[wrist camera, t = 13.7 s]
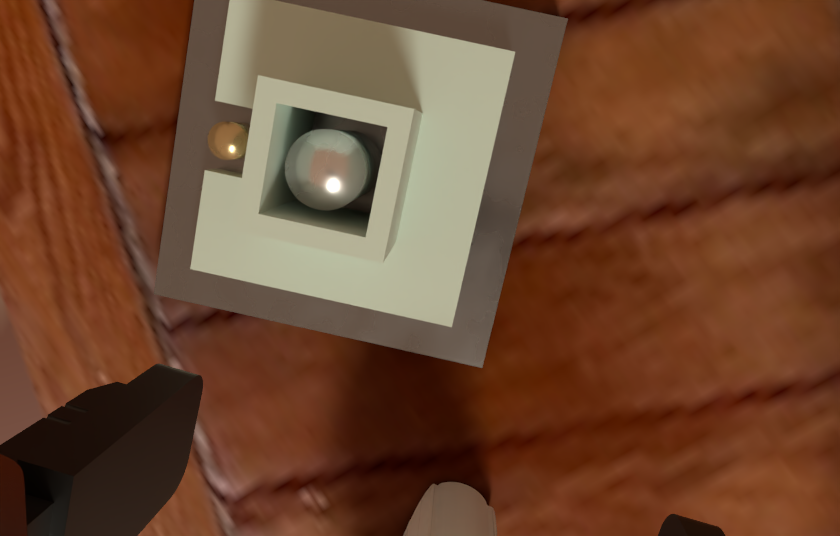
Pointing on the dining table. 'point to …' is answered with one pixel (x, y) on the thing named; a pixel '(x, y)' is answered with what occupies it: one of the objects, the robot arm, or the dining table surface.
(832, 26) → the dining table surface
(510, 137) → the post fixture
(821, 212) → the dining table surface
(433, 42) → the flange plate
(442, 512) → the photo printer
